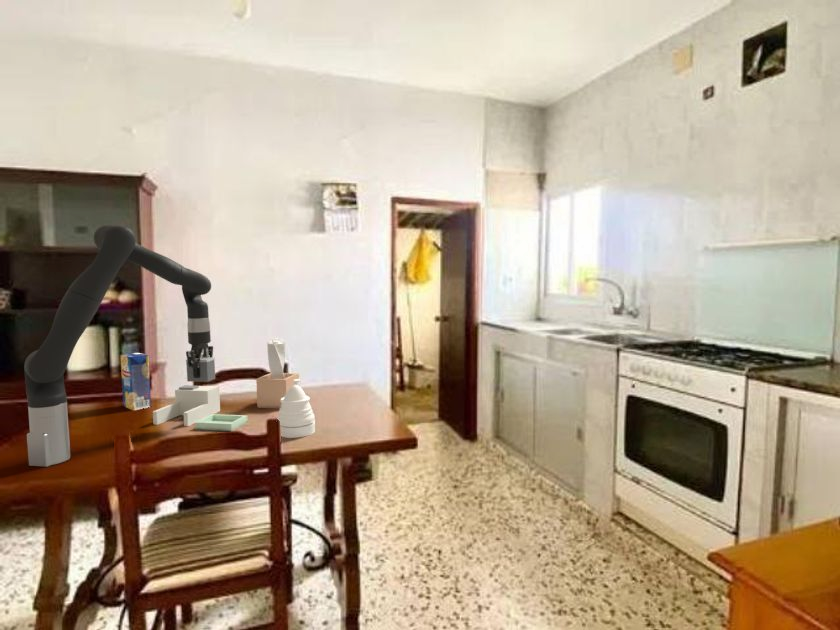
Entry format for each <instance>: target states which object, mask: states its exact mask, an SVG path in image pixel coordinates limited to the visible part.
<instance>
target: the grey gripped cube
mask: <svg viewBox="0 0 840 630" xmlns="http://www.w3.org/2000/svg"><path fill="white" fill-rule="evenodd" d="M195 359H199V358H195ZM215 360H216V359H215V357H210V356H209V358H202V360H201V361H200V367H199V368H200V378H194V376H193V368H192V367H189V365H188V361H187V359H185V363H186V364H185V365H186V380H187V382H192V383H193V382H195V383H196V382H198V383H199V382H201V383H202V382H203V383H208V382H211V381H213V380H216V368H215V367H216V366H215ZM191 364H192V361H191ZM196 364H197V361H196Z"/></svg>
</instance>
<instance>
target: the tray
mask: <svg viewBox="0 0 840 630" xmlns="http://www.w3.org/2000/svg"><path fill="white" fill-rule="evenodd" d="M247 423H248V415H243V414H241V415H239V414H223V413H221V414H219V413H218V414H217V413H215V414H212V415H210V416H208V417H206V418H204V419H201V420H199V421H197V422H195V423H194V426H195V427H194V428H195V430H201V431H202V430H203V431H218V432H219V431H222V432H233V431H235V430H236V429H238V428H240V427H242V426H243V425H245V424H247Z"/></svg>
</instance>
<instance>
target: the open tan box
mask: <svg viewBox="0 0 840 630" xmlns="http://www.w3.org/2000/svg"><path fill="white" fill-rule="evenodd" d="M283 373H284V379H270V376H271V372H270V373H268V374H265V375H262V376H260V377H258V378H255V380H256V383H255V384H256V402H257V403H256V405H257V407H256V408H259V409H260V408H262V409H280V408H281V405H282V403H281V402H280V399H281V398H283V397H285V395H286V393H287V391H288V389H289V388H290V387H291V386H292V385H295V384H294V381H293V380H294V379H300V374H299V373H293V372H292V373H290V372H288V376H289V377H287V372H283ZM298 386H300V384H299V385H298Z"/></svg>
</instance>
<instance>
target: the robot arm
mask: <svg viewBox="0 0 840 630" xmlns="http://www.w3.org/2000/svg"><path fill="white" fill-rule="evenodd" d="M135 235H136V234H135V232H133V230H132V229H130V228H129V227H126V226H122V225H117V224H116V225H115V224H106V225H102V226H100V227H98V228H97V229H96V230H95V232H94V234H93V241H94V244H95V246H96V248H98V253H97V254H96V256H95V258H94V260H93V261H92V263H91V264H90V265H89V266H88V267H87V268H86V269H85V270H84V271H83V272H82V273H80V274H79V276H78V277H77V278H76V279H75V280H73V282H72V283H71V284H70V285H69V287H68V289H67V290H66V292H65V294H64V296H63V298H62V299H61V301H60V303H59V306H58V308H57V309H56V310H57V311H56V313H55V316H54V320H53V322H52V326H51V329H50V330H49V333H48V335H47V336H46V337H45V339H44V341H43V342H42V344H41V345H40V347H39V349H37V350H34V351H33V352H31V353H30V354H28V356H26V358H25V361H24V367H23V368H24V381H25V390H26V391H25V393H26V397H27V409H28V422H29V423H28V425H29V432H28V433H26V443H27V456H28V466H31V467H33V466H34V467H50V466H53V465H57V464H61V463H63V462H66V461H68V460H70V458H71V446H70V445H71V444H70V443H71V442H70V429H69V416H68V414H69V412H68V401H67V392H66V387H65V377H64V373H65V371H66V369H67V367H68V364H69V362H70V358H71V357H72V354H73V352H74V349H75V347H76V345H77V343H78V341H80V338H81V337H82V335H83V334H84V332H85V331H86V329H87V328H88V326H89V325H90V323H91V321H92V320H93V318H94V316H95V315H96V313H97V311H98V310H99V308H100V306H101V304H102V302H103V300H104V298H105V296H106V294H107V292H108V290H109V288H110V287H111V285H112V284H113V281H114V279H115V277H116V275H117V274H118V272H119V271H120V268H122V266H123V265H124V263H125V262H126V261H128V262H131V263H132V264H135V265H136V266H140V267H141V268H143V269H145V270H146V271H149V272H151V273H152V274H154V275H156V276H158V277H159V278H161V279H162V280H165V281H166V282H168V283H171V284H173V285H178V286H181V291H182V296H183V298H184V302H185V305H186V307H187V308H186V310H187V312H186V313H187V324H186V325H187V341H188V344H189V345H191V349H190V350H189V351H188V350H187V351H185V354H186V360H187V361H188V365H189V367H192V368H193V376H194V378H200V368H199V367H200V361H201V360H202V358H209V357H212V358H214V357H213V356H214V346H213V345H209V344H210V343H211V341H212V340H211V325H210V324H211V323H210V318H209V305H208V303H207V302H206V301H204V300H203V298H202V296H203V295H207V294H208V293H210V291H211V290H212V282H211V281H210V278H208V277H207V276H205V275H204V274H202V273H200V272H198V271H195V270H192V269H190V268H187V267H185V266H183V265H181V264H180V263H178V262H177V261H175V260H173V259H172V258H169V257H167V256H165V255H163V254H160V253H158V252H156V251H154V250H151V249H149V248H146V247H144V246H143V245H141V244H138V243H137V242H136V240H137V239H136V236H135ZM195 358H199V359H195ZM191 361H192V364H191ZM196 361H197V364H196Z"/></svg>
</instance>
